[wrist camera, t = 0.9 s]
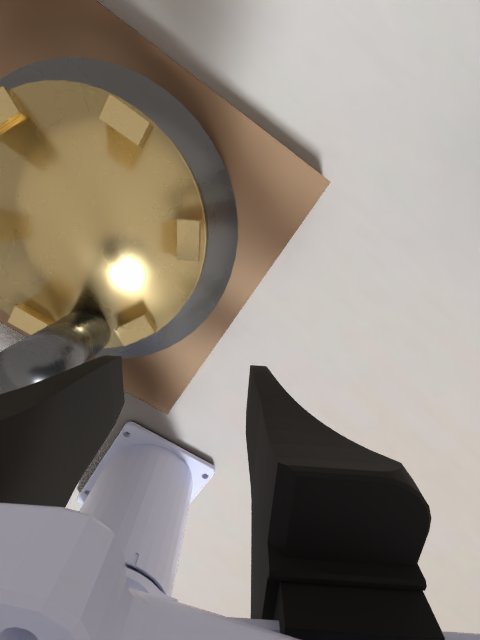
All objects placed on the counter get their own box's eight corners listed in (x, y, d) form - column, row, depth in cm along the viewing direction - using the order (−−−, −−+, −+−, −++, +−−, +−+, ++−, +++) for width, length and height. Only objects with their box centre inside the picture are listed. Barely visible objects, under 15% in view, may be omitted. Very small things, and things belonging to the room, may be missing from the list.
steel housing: (158, 388, 21) (152, 401, 20) (-60, 264, 19) (-85, 268, 17) (291, 190, 17) (295, 187, 15) (33, -3, 14) (10, -28, 13)
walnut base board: (171, 402, 23) (167, 414, 22) (-68, 267, 20) (-92, 271, 19) (324, 184, 18) (330, 182, 17) (36, -37, 15) (14, -63, 14)
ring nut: (140, 373, 19) (89, 452, 12) (-56, 262, 17) (-232, 288, 11) (254, 196, 15) (259, 183, 9) (26, 30, 13) (-163, -128, 7)
